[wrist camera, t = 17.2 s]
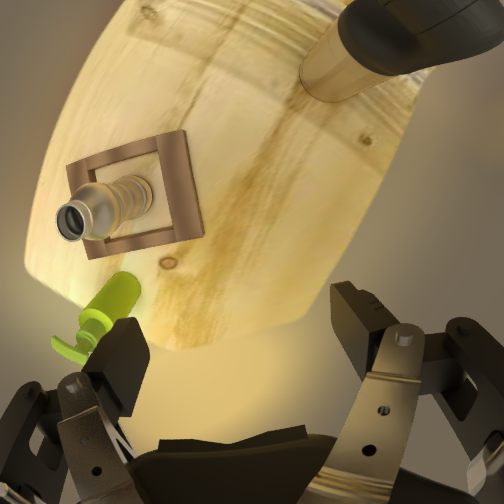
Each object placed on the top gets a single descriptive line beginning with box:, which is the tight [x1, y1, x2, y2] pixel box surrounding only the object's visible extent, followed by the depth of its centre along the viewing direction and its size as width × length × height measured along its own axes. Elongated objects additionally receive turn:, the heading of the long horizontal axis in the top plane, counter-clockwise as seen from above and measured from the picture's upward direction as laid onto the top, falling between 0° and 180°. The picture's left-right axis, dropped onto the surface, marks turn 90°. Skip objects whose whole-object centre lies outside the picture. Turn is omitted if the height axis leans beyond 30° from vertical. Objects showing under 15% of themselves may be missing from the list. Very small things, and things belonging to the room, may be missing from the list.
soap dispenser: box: [51, 272, 141, 366], centre depth 36 cm, size 6×7×20 cm
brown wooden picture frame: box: [66, 130, 204, 260], centre depth 40 cm, size 20×16×2 cm
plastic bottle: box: [55, 175, 152, 242], centre depth 31 cm, size 6×7×20 cm
